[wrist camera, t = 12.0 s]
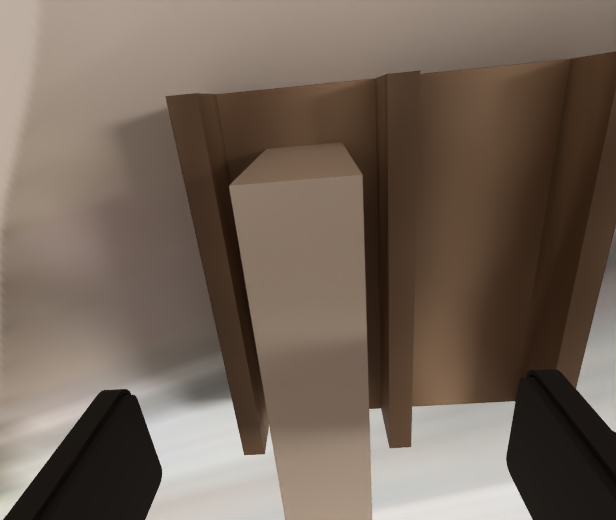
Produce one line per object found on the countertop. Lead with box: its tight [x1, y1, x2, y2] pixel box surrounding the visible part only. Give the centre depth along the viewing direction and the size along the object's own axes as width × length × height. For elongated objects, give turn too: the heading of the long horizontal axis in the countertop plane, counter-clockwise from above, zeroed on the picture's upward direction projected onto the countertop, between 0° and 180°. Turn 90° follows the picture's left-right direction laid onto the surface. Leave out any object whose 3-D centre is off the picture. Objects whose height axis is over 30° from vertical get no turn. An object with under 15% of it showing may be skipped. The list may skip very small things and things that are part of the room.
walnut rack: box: [166, 52, 616, 455], centre depth 16 cm, size 15×16×4 cm
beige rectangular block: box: [229, 142, 372, 520], centre depth 14 cm, size 3×12×7 cm, turn 5°
